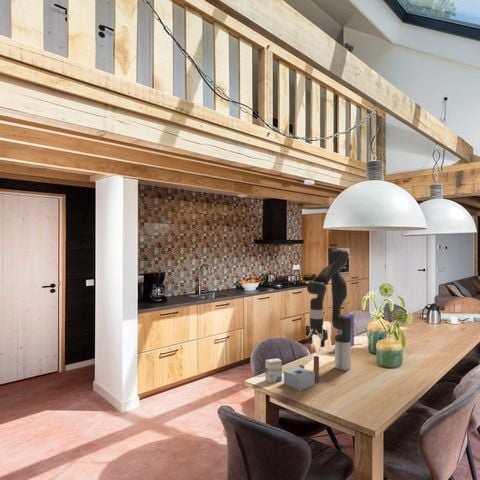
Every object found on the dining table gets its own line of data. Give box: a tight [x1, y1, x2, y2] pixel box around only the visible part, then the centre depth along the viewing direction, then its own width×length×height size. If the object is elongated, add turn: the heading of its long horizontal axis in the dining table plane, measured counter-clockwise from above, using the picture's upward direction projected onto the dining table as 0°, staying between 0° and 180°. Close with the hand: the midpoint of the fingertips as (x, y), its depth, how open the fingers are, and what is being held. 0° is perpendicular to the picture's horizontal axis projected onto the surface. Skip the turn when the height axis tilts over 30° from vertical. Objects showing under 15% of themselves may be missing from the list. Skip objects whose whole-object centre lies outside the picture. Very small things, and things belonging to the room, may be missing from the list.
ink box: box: [264, 357, 283, 384], centre depth 202 cm, size 8×5×12 cm, turn 111°
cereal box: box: [336, 313, 355, 348], centre depth 267 cm, size 17×5×24 cm, turn 136°
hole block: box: [283, 366, 316, 392], centre depth 196 cm, size 12×12×7 cm
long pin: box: [313, 355, 320, 384], centre depth 201 cm, size 3×3×14 cm
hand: (316, 345), depth 201 cm, fingers open, 8 cm apart
